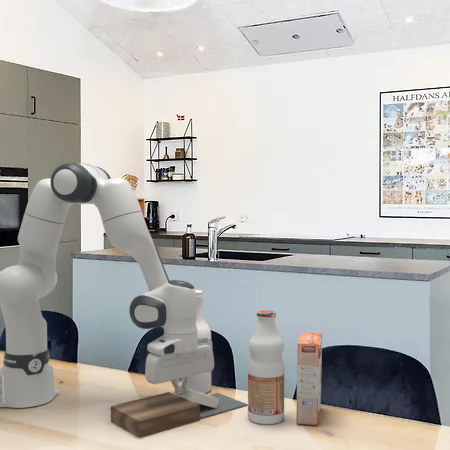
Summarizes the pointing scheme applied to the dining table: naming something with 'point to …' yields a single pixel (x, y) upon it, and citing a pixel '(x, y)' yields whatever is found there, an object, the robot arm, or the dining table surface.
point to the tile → (200, 398)
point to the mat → (220, 406)
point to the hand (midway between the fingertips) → (181, 393)
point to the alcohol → (201, 380)
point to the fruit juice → (266, 371)
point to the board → (154, 414)
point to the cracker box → (309, 378)
